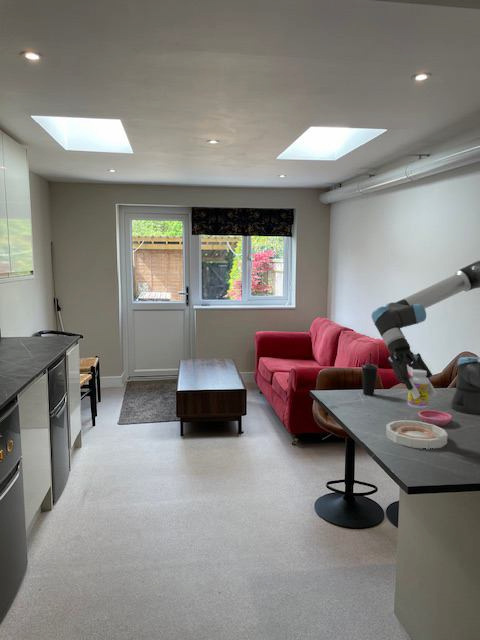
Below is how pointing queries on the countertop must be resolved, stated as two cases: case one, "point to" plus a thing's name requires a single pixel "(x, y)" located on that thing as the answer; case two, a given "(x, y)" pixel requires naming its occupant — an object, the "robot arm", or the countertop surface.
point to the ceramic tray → (416, 434)
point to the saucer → (435, 417)
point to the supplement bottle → (419, 389)
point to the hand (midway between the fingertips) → (425, 396)
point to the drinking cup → (369, 377)
